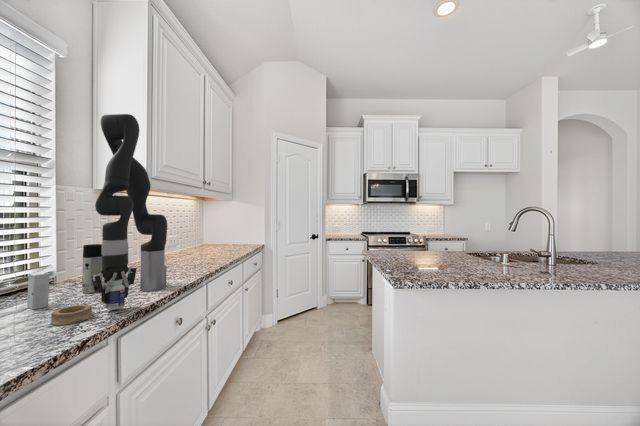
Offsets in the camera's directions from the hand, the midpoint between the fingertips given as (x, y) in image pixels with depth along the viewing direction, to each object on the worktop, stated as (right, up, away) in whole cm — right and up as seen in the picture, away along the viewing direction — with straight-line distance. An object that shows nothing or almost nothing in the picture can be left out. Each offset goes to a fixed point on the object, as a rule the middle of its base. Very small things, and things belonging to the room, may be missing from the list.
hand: (115, 300), depth 97 cm
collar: (-8, -3, -8) cm, 12 cm away
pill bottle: (0, -3, 0) cm, 3 cm away
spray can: (-25, -3, +21) cm, 33 cm away
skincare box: (-29, -3, +2) cm, 30 cm away
